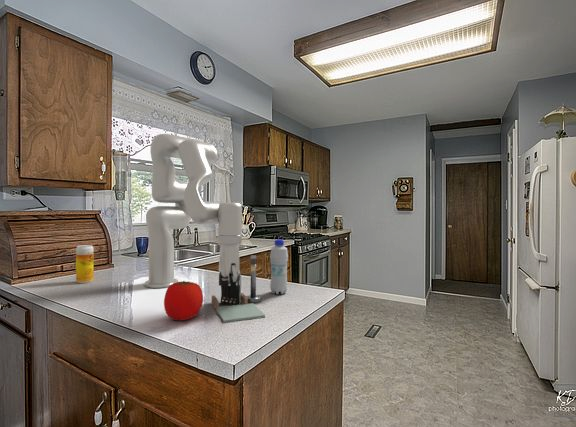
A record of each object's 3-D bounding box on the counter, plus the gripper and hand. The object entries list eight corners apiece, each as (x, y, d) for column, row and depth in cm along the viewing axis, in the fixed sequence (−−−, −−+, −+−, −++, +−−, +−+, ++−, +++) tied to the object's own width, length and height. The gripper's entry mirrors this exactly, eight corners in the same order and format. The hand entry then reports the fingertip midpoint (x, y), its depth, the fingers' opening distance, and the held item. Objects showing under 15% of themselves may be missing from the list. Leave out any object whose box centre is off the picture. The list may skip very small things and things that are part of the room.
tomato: (169, 312, 95) (169, 276, 95) (205, 311, 96) (205, 276, 95) (158, 325, 84) (158, 285, 84) (198, 325, 85) (198, 285, 85)
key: (249, 306, 96) (250, 262, 96) (250, 294, 110) (250, 255, 109) (255, 306, 96) (256, 262, 96) (255, 293, 110) (256, 255, 109)
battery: (217, 304, 103) (217, 269, 102) (223, 301, 106) (223, 267, 106) (236, 307, 100) (236, 271, 100) (241, 303, 104) (241, 269, 103)
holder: (211, 302, 104) (211, 295, 104) (242, 299, 108) (242, 292, 108) (215, 309, 98) (215, 301, 98) (247, 305, 102) (247, 298, 102)
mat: (215, 309, 98) (215, 307, 98) (253, 304, 103) (253, 303, 103) (223, 322, 87) (223, 320, 87) (265, 317, 92) (265, 315, 92)
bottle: (285, 295, 113) (286, 240, 113) (267, 294, 115) (268, 239, 114) (289, 291, 120) (290, 238, 119) (272, 289, 121) (272, 238, 121)
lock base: (243, 300, 108) (243, 295, 108) (257, 298, 109) (257, 294, 109) (247, 304, 103) (247, 300, 103) (262, 302, 105) (262, 298, 105)
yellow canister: (87, 283, 127) (87, 246, 127) (72, 283, 127) (72, 246, 127) (96, 280, 133) (96, 244, 133) (82, 280, 133) (82, 244, 133)
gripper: (213, 238, 109) (213, 289, 110) (223, 243, 93) (223, 303, 94) (235, 237, 112) (234, 287, 113) (248, 243, 96) (247, 301, 97)
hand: (229, 294), depth 103 cm, fingers closed on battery, 6 cm apart
